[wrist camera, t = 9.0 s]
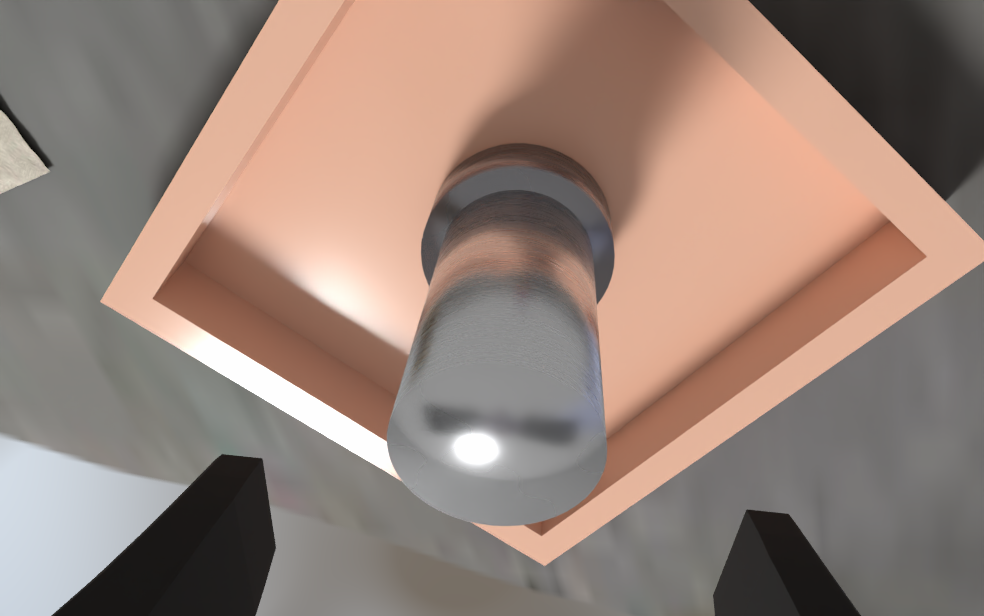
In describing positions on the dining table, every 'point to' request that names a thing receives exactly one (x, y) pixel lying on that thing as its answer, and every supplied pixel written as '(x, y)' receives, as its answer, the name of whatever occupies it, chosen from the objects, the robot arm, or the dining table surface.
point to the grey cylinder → (508, 342)
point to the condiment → (16, 158)
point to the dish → (593, 144)
